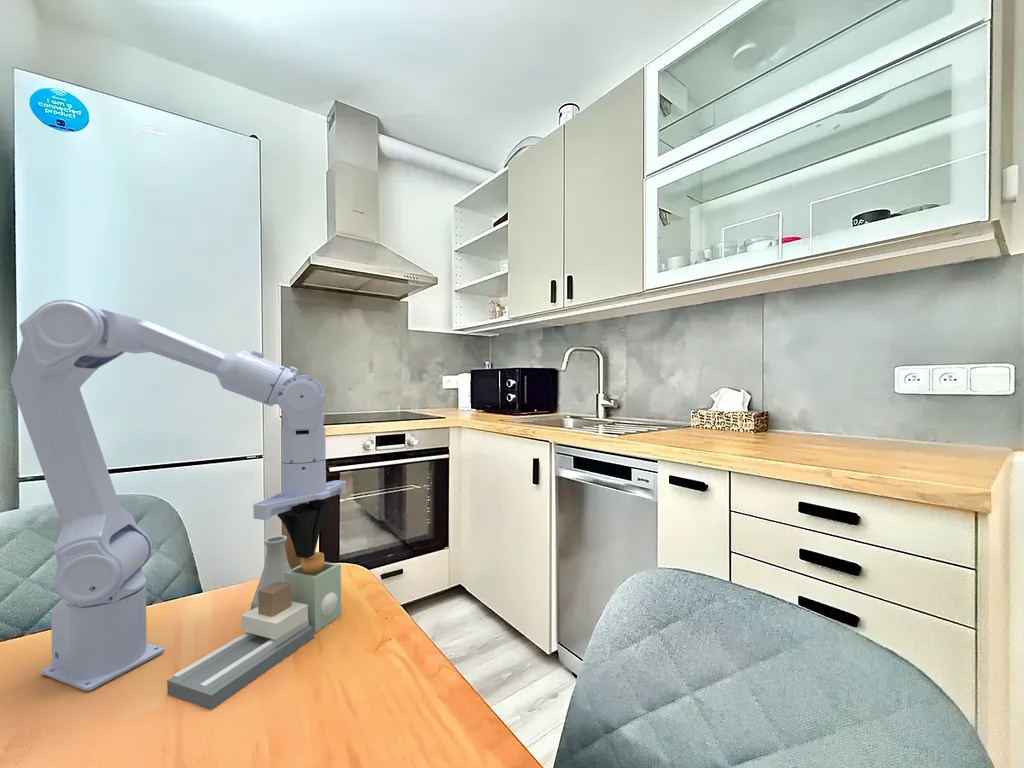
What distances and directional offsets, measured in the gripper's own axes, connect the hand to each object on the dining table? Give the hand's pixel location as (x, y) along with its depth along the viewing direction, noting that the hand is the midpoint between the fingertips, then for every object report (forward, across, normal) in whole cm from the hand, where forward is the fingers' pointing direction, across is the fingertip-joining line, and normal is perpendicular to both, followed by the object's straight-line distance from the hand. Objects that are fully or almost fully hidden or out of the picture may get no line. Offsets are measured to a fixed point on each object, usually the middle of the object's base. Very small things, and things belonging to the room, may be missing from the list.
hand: (305, 555), depth 63 cm
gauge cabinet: (+10, +2, 0) cm, 10 cm away
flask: (+10, +4, +10) cm, 15 cm away
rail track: (+10, -9, 0) cm, 13 cm away
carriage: (+7, -5, 0) cm, 9 cm away
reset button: (+3, +2, 0) cm, 3 cm away
